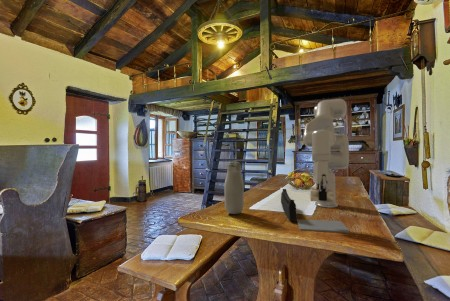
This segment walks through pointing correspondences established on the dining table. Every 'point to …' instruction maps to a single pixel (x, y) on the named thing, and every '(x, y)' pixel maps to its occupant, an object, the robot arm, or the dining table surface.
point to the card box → (315, 195)
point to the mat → (322, 226)
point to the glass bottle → (234, 188)
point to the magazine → (288, 206)
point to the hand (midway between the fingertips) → (321, 198)
